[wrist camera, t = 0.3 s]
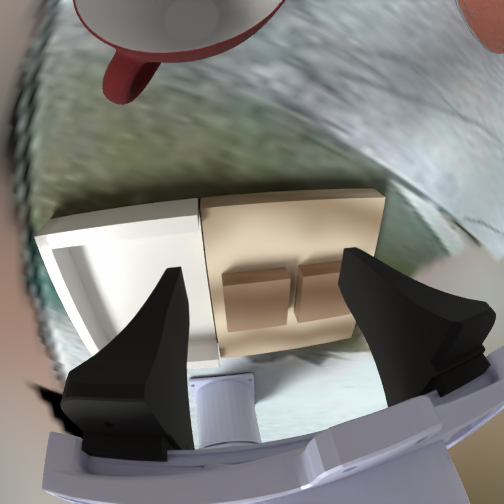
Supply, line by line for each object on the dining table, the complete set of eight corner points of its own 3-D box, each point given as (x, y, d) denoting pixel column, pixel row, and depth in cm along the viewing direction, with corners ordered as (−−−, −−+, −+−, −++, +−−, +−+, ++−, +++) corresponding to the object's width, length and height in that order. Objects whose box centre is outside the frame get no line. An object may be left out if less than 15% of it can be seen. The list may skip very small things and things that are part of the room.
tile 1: (344, 303, 26) (350, 314, 25) (293, 311, 25) (297, 323, 24) (353, 258, 23) (361, 269, 22) (297, 265, 23) (303, 276, 22)
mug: (202, 123, 18) (199, 155, 9) (97, 86, 15) (14, 94, 7) (274, -2, 13) (332, -61, 5) (168, -40, 11) (146, -116, 2)
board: (344, 324, 31) (351, 337, 29) (219, 343, 29) (220, 358, 28) (373, 188, 22) (385, 197, 21) (200, 197, 21) (200, 208, 19)
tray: (217, 343, 29) (219, 366, 27) (106, 350, 28) (101, 371, 25) (197, 197, 21) (197, 215, 18) (50, 218, 19) (34, 236, 17)
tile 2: (282, 312, 25) (286, 325, 24) (226, 319, 25) (227, 332, 24) (285, 267, 23) (290, 278, 21) (221, 274, 22) (222, 286, 21)
